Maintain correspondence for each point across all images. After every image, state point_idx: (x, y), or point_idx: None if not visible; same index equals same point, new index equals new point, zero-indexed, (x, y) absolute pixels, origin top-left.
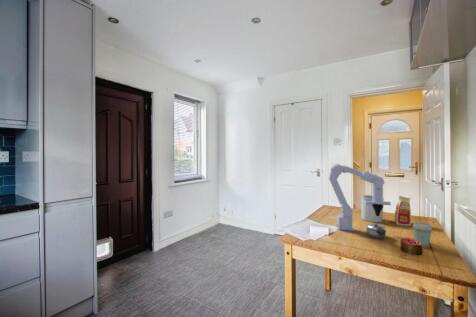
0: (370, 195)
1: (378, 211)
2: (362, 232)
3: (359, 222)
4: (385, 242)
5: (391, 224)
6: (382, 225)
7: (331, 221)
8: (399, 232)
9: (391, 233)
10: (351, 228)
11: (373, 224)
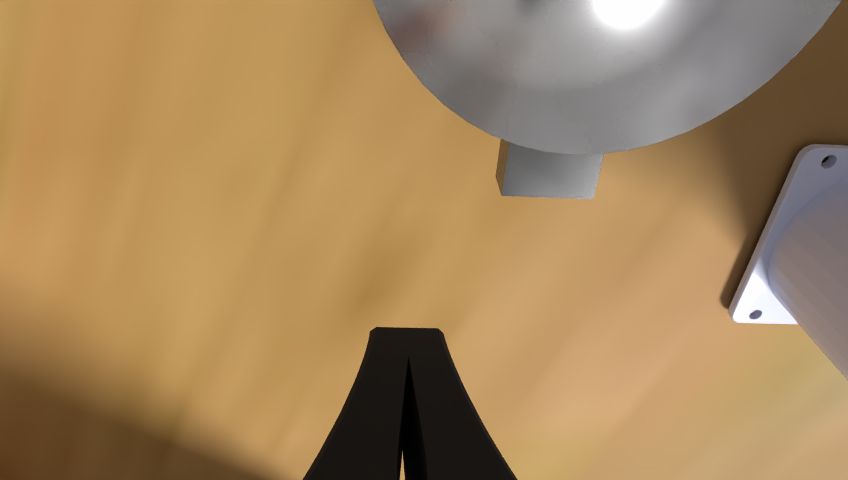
0: None
1: (397, 466)
2: None
3: None
4: None
5: (65, 448)
6: (382, 12)
7: (835, 474)
8: (11, 138)
9: (175, 70)
10: (845, 190)
11: (587, 85)
